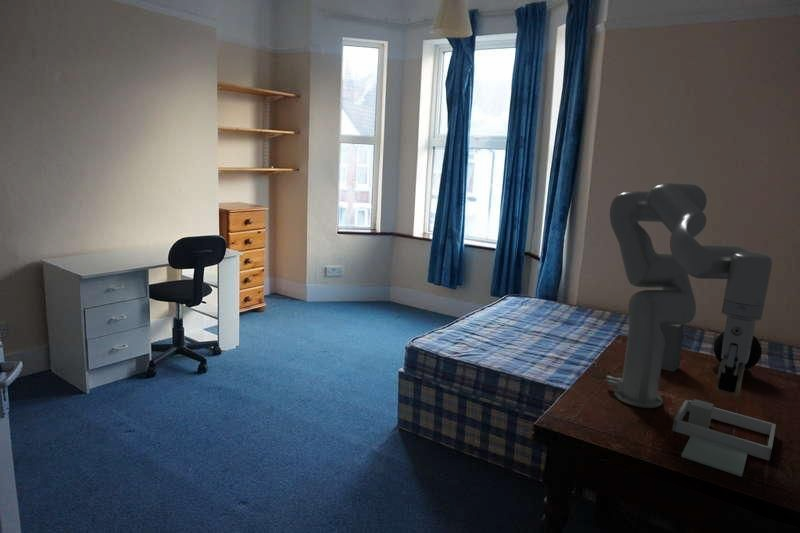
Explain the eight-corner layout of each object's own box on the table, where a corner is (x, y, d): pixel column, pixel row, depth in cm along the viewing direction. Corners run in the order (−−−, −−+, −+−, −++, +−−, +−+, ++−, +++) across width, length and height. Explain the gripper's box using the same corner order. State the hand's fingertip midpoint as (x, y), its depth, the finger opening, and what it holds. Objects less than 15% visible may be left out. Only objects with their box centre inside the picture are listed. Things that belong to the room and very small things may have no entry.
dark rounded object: (756, 373, 179) (765, 329, 176) (755, 386, 169) (765, 340, 166) (711, 363, 187) (718, 321, 183) (707, 375, 176) (715, 330, 173)
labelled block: (714, 390, 123) (719, 364, 122) (717, 384, 127) (722, 358, 125) (738, 396, 121) (743, 369, 119) (740, 389, 124) (745, 364, 123)
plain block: (687, 426, 141) (691, 404, 140) (690, 419, 144) (694, 398, 143) (707, 432, 138) (711, 410, 137) (709, 425, 142) (713, 404, 140)
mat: (681, 456, 126) (681, 454, 126) (690, 436, 135) (691, 434, 135) (741, 476, 119) (742, 474, 119) (747, 454, 128) (747, 452, 128)
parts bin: (672, 430, 138) (673, 419, 137) (684, 409, 150) (685, 399, 150) (769, 460, 126) (771, 449, 125) (773, 435, 138) (775, 424, 138)
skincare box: (679, 367, 181) (687, 322, 177) (673, 373, 175) (680, 326, 172) (652, 360, 186) (659, 315, 183) (645, 365, 181) (652, 320, 178)
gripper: (759, 321, 111) (743, 404, 115) (765, 305, 124) (750, 380, 128) (717, 313, 115) (703, 394, 119) (727, 298, 129) (714, 371, 132)
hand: (728, 386), depth 123 cm, fingers closed on labelled block, 4 cm apart
